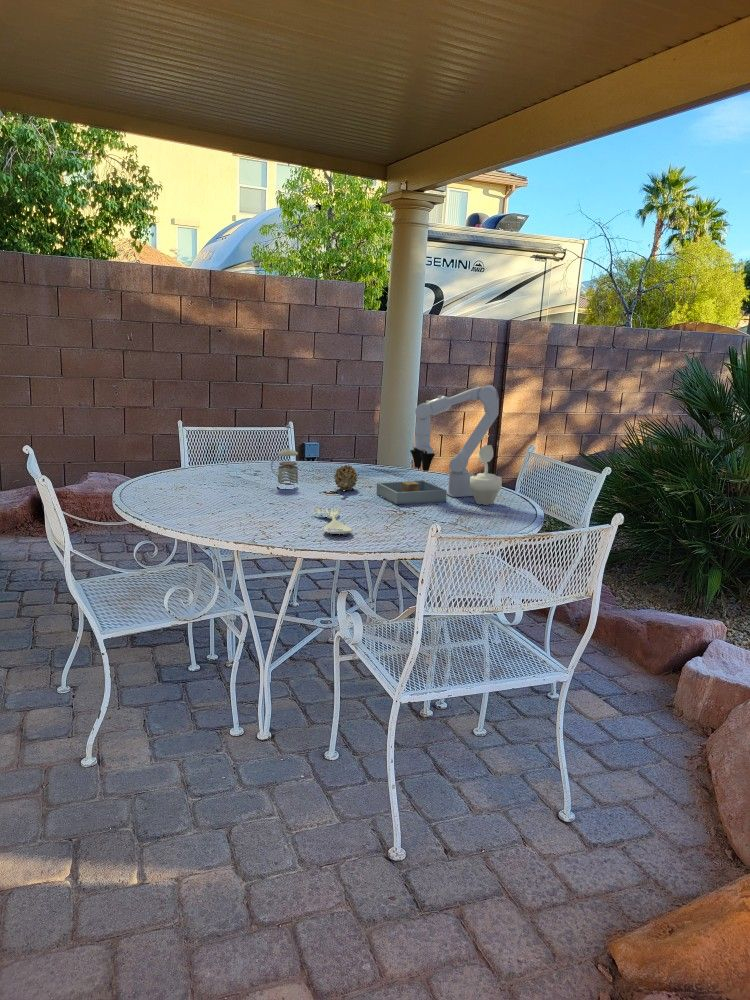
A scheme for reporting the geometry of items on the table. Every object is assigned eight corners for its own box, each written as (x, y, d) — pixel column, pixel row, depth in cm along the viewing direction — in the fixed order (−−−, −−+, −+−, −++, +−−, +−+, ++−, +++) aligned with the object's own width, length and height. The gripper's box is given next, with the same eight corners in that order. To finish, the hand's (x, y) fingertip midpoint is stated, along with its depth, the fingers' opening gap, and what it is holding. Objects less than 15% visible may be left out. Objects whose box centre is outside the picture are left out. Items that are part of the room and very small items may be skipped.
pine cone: (334, 486, 297) (334, 462, 295) (357, 486, 297) (358, 462, 295) (332, 497, 276) (332, 471, 273) (357, 497, 276) (357, 471, 274)
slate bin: (423, 491, 290) (423, 480, 289) (446, 501, 272) (446, 490, 271) (376, 494, 283) (376, 482, 282) (396, 505, 265) (396, 492, 264)
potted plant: (500, 507, 264) (504, 438, 258) (467, 505, 266) (470, 437, 261) (501, 500, 276) (505, 434, 271) (470, 498, 278) (473, 433, 273)
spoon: (339, 514, 249) (339, 504, 249) (355, 538, 219) (355, 527, 218) (313, 515, 248) (313, 505, 247) (325, 539, 217) (325, 528, 216)
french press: (302, 489, 290) (302, 426, 285) (273, 490, 287) (272, 426, 282) (298, 484, 299) (298, 423, 294) (269, 485, 296) (269, 423, 291)
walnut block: (413, 494, 280) (413, 481, 279) (419, 496, 276) (419, 483, 275) (401, 495, 278) (401, 482, 277) (407, 497, 274) (407, 484, 273)
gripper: (405, 432, 288) (404, 466, 291) (421, 437, 274) (420, 472, 277) (422, 432, 290) (421, 465, 293) (438, 436, 277) (436, 471, 280)
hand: (421, 469), depth 285 cm, fingers open, 7 cm apart
